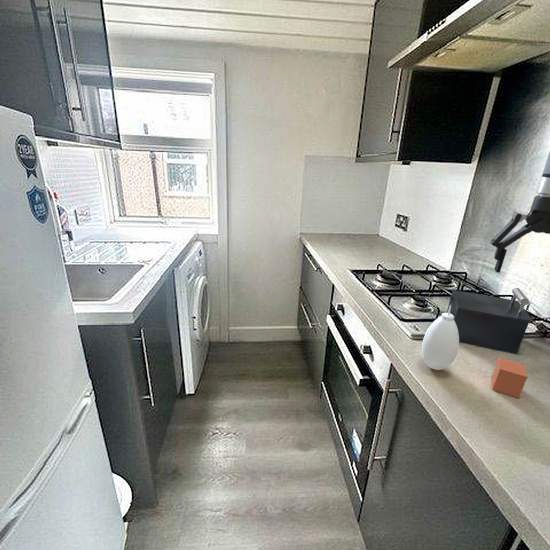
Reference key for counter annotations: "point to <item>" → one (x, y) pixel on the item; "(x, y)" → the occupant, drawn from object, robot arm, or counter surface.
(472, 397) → the counter surface
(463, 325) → the dark grey box
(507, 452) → the counter surface
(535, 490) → the counter surface
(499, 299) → the box lid
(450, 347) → the white air blower bulb
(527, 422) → the counter surface
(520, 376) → the terracotta toy cube
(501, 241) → the robot arm
